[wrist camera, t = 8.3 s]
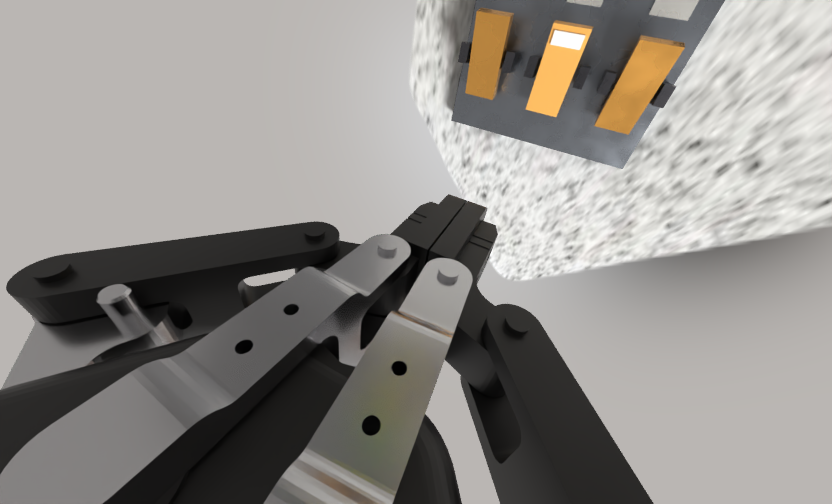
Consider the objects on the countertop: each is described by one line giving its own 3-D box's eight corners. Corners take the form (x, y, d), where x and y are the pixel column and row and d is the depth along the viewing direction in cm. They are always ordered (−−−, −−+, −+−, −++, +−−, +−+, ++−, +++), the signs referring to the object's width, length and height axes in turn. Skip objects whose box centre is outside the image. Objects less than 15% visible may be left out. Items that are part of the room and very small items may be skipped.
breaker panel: (721, -8, 24) (753, -20, 19) (620, 161, 32) (625, 182, 28) (491, -38, 29) (471, -53, 24) (458, 116, 37) (438, 127, 33)
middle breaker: (593, 26, 24) (591, 30, 23) (557, 113, 30) (555, 118, 29) (555, 20, 25) (553, 23, 24) (527, 105, 30) (524, 110, 30)
